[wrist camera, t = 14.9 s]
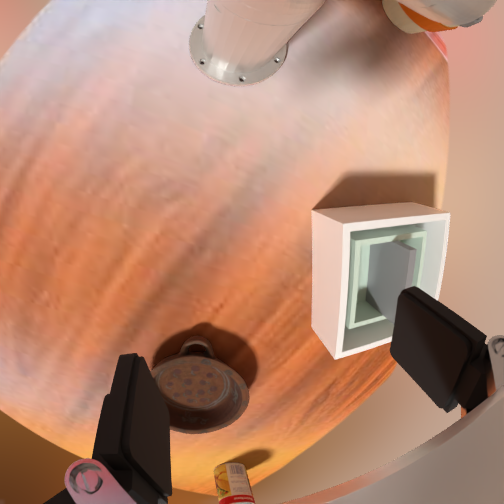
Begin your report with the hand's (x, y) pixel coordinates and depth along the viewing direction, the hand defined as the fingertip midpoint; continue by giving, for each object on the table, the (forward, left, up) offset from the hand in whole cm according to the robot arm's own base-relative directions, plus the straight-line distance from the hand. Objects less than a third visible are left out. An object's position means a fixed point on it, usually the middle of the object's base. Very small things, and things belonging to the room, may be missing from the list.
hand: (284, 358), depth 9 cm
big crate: (+11, +23, -29) cm, 39 cm away
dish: (+28, -7, -30) cm, 41 cm away
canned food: (+61, -5, -30) cm, 68 cm away
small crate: (+11, +23, -28) cm, 38 cm away
